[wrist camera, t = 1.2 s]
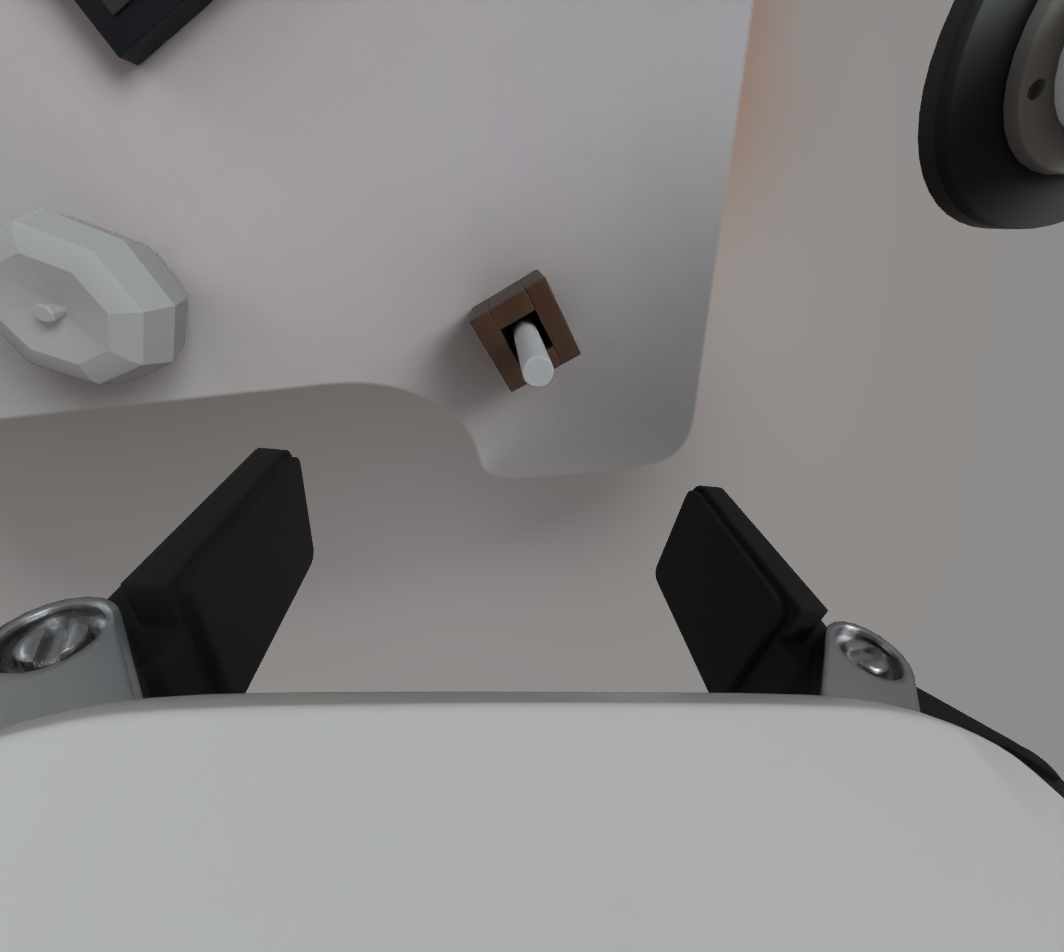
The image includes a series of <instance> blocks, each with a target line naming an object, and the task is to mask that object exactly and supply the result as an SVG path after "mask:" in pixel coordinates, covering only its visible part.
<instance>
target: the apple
mask: <svg viewBox="0 0 1064 952" xmlns="http://www.w3.org/2000/svg"><path fill="white" fill-rule="evenodd" d="M187 298H188V297H187V293H186V291H185V290H184V289H183V287H182V286H181V284H180V283H179V282H178V280H177V279H176V278H175V276H174V275H173V274H172V272H171V271H170V270H169V268H168V267H167V266H166V264H165V263H164V262H163V260H162V259H161V257H160V256H159V255H158V254H157V253H156V252H155V251H154V250H152V249H151V248H150V247H149V246H147V245H145V244H142V243H139V242H137V241H134V240H132V239H129V238H127V237H124V236H121V235H119V234H116V233H114V232H111V231H109V230H106V229H104V228H101V227H98V226H96V225H93V224H91V223H88V222H85V221H82V220H79V219H76V218H73V217H70V216H66V215H63V214H60V213H57V212H54V211H51V210H48V209H45V208H40V209H37V210H35V211H33V212H30V213H28V214H26V215H23V216H21V217H19V218H17V219H14V220H12V221H10V222H8V223H6V224H4V225H2V226H0V334H1V335H2V336H3V337H5V338H6V339H7V340H8V341H9V342H10V343H11V344H12V345H13V346H14V347H15V348H16V349H17V350H18V351H19V352H20V353H21V354H22V355H23V356H24V357H26V358H27V359H28V360H29V361H30V362H31V363H32V364H35V365H39V366H42V367H45V368H48V369H51V370H55V371H58V372H61V373H64V374H67V375H70V376H74V377H77V378H80V379H83V380H86V381H90V382H93V383H96V384H114V383H126V382H129V381H131V380H133V379H135V378H138V377H140V376H142V375H144V374H147V373H149V372H151V371H153V370H156V369H158V368H160V367H162V366H165V365H167V364H169V363H171V362H173V361H174V359H175V358H176V356H177V354H178V353H179V351H180V349H181V348H182V346H183V345H184V340H185V326H186V312H187Z"/></svg>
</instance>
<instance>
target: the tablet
mask: <svg viewBox="0 0 1064 952" xmlns="http://www.w3.org/2000/svg"><path fill="white" fill-rule="evenodd" d="M211 1H212V0H75V2H76V3H77V4H78V5H79V7H80V8H81V9H82V10H83V12H84V13H85V14H86V16H87V17H88V18H89V19H90V21H91V22H92V23H93V25H94V26H95V27H96V28H97V30H98V31H99V32H100V33H101V35H102V36H103V37H104V39H105V40H106V41H107V42H108V44H109V45H110V46H111V47H112V49H113V50H114V51H115V53H116V54H117V55H118V56H119V57H120V58H122V59H124V60H127V61H129V62H131V63H134V64H136V65H139V64H140V63H142V62H143V61H144V60H145V59H146V58H147V57H148V56H150V55H151V54H152V53H153V52H154V51H155V50H156V49H158V48H159V47H160V46H161V45H162V44H163V43H164V42H166V41H167V40H168V39H169V38H170V37H171V36H172V35H174V34H175V33H176V32H177V31H178V30H179V29H180V28H182V27H183V26H184V25H185V24H186V23H187V22H188V21H190V20H191V19H192V18H193V17H194V16H195V15H196V14H198V13H199V12H200V11H201V10H202V9H203V8H204V7H205V6H207V5H208V4H209V3H210V2H211Z"/></svg>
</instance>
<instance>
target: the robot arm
mask: <svg viewBox="0 0 1064 952" xmlns="http://www.w3.org/2000/svg"><path fill="white" fill-rule="evenodd" d="M1003 116H1004V131H1005V134H1006V138H1007V141H1008V145H1009V148H1010V150H1011V151H1012V153H1013V154H1014V156H1015V157H1016V159H1017V160H1018V162H1020V163H1021V164H1023V165H1024V166H1025V167H1027V168H1028V169H1029V170H1031V171H1035V172H1038V173H1041V174H1045V175H1063V174H1064V0H1038V2H1037V4H1036V5H1035V7H1034V9H1033V11H1032V13H1031V15H1030V17H1029V19H1028V21H1027V23H1026V25H1025V28H1024V30H1023V33H1022V35H1021V38H1020V40H1019V43H1018V45H1017V48H1016V50H1015V53H1014V56H1013V60H1012V63H1011V67H1010V71H1009V74H1008V78H1007V82H1006V89H1005V97H1004V105H1003ZM312 560H313V543H312V536H311V530H310V524H309V517H308V511H307V504H306V497H305V491H304V485H303V478H302V471H301V465H300V461H299V459H298V458H296V457H292V456H291V454H290V452H289V451H288V450H278V449H267V448H258V449H256V450H255V451H254V452H253V453H252V454H251V455H250V456H249V457H248V458H247V459H246V460H245V461H244V462H243V463H242V464H241V465H240V466H239V467H238V468H237V469H236V470H235V471H234V472H233V473H232V474H231V475H230V476H229V477H228V478H227V479H226V480H225V481H224V482H223V483H222V484H221V485H220V486H219V487H218V488H217V489H216V490H215V491H214V492H213V493H212V494H210V495H209V497H207V498H206V500H204V502H202V504H200V505H199V506H198V507H197V508H196V509H195V510H194V511H193V512H192V513H191V514H190V515H189V516H188V517H187V518H186V519H185V520H184V521H183V522H182V524H180V525H179V526H178V527H177V528H176V529H175V530H174V531H173V532H172V533H171V534H170V535H169V536H168V537H167V538H166V539H165V540H164V542H162V543H161V544H160V545H159V546H158V547H157V548H156V549H155V550H154V551H153V552H152V553H151V554H150V555H149V556H148V557H147V558H146V559H145V560H144V561H143V562H142V563H141V564H140V565H139V566H138V567H137V568H136V569H135V570H134V571H133V572H132V573H131V574H130V575H129V576H128V577H127V578H126V579H125V580H124V581H123V582H122V583H121V586H120V587H119V588H118V589H117V590H116V591H115V592H114V593H113V594H112V595H111V596H110V597H109V598H108V599H105V598H98V597H79V598H71V599H65V600H61V601H58V602H54V603H50V604H46V605H44V606H41V607H39V608H36V609H34V610H31V611H29V612H26V613H24V614H22V615H20V616H19V617H17V618H15V619H13V620H11V621H9V622H8V623H6V624H4V625H3V626H1V627H0V952H1064V781H1063V780H1061V778H1060V777H1059V776H1058V774H1057V773H1056V772H1055V771H1054V770H1053V769H1052V767H1050V765H1048V764H1047V763H1046V762H1045V761H1044V760H1043V759H1041V758H1040V757H1039V756H1037V755H1036V754H1034V753H1033V752H1031V751H1030V750H1028V749H1026V748H1024V747H1022V746H1020V745H1019V744H1017V743H1015V742H1014V741H1012V740H1010V739H1008V738H1007V737H1005V736H1003V735H1001V734H1000V733H998V732H996V731H994V730H992V729H990V728H989V727H987V726H985V725H983V724H982V723H980V722H978V721H976V720H975V719H973V718H971V717H969V716H967V715H966V714H963V713H962V712H960V711H958V710H957V709H955V708H953V707H951V706H949V705H948V704H946V703H944V702H942V701H941V700H939V699H937V698H935V697H933V696H932V695H930V694H928V693H926V692H924V691H923V690H921V689H919V688H917V687H916V684H915V678H914V674H913V671H912V669H911V666H910V665H909V663H908V662H907V661H906V659H905V658H904V657H903V655H902V654H901V653H900V652H899V651H898V650H897V649H896V648H894V646H892V645H891V644H890V643H889V642H887V641H886V640H884V639H883V638H882V637H880V636H879V635H877V634H875V633H874V632H872V631H870V630H868V629H866V628H864V627H861V626H859V625H856V624H853V623H848V622H834V623H832V624H830V625H828V627H826V626H825V625H824V623H823V622H822V621H821V619H822V618H823V617H824V615H825V614H826V613H827V611H828V610H827V609H826V607H825V606H824V605H823V604H822V603H821V602H820V601H819V599H818V598H817V597H816V596H815V595H814V594H813V593H812V591H811V590H810V589H809V588H808V587H807V586H806V585H805V583H804V582H803V581H802V580H801V579H800V577H799V576H798V575H797V574H796V573H795V572H794V571H793V569H792V568H791V567H790V566H789V565H788V564H787V562H786V561H785V560H784V559H783V558H782V557H781V556H780V554H779V553H778V552H777V551H776V550H775V549H774V547H773V546H772V545H771V544H770V543H769V542H768V541H767V539H766V538H765V537H764V536H763V535H762V534H761V532H760V531H759V530H758V529H757V528H756V527H755V525H754V524H753V523H752V522H751V521H750V520H749V519H748V518H747V516H746V515H745V514H744V513H743V512H742V510H741V509H740V508H739V507H738V506H737V505H736V504H735V502H734V501H733V500H732V499H731V498H730V497H729V496H728V494H727V493H726V492H725V491H724V490H723V489H722V488H719V487H709V486H697V487H696V488H694V490H693V491H689V492H688V493H687V495H686V497H685V499H684V502H683V504H682V507H681V509H680V512H679V514H678V516H677V519H676V521H675V524H674V526H673V528H672V531H671V533H670V536H669V538H668V541H667V543H666V546H665V548H664V550H663V553H662V555H661V557H660V560H659V563H658V565H657V567H656V579H657V582H658V584H659V586H660V589H661V590H662V592H663V595H664V597H665V599H666V601H667V603H668V606H669V608H670V610H671V612H672V614H673V616H674V619H675V621H676V623H677V625H678V627H679V629H680V632H681V634H682V636H683V638H684V640H685V642H686V645H687V646H688V649H689V651H690V653H691V655H692V657H693V660H694V662H695V664H696V666H697V668H698V670H699V672H700V675H701V677H702V679H703V681H704V683H705V685H706V687H707V690H708V692H709V693H679V692H678V693H677V692H674V693H673V692H672V693H671V692H670V693H669V692H297V693H245V692H246V691H247V689H248V687H249V685H250V683H251V681H252V679H253V677H254V675H255V673H256V671H257V669H258V667H259V665H260V663H261V661H262V659H263V657H264V655H265V653H266V651H267V649H268V648H269V646H270V643H271V642H272V640H273V638H274V636H275V634H276V632H277V630H278V628H279V626H280V624H281V622H282V620H283V618H284V616H285V614H286V612H287V610H288V608H289V606H290V604H291V603H292V600H293V599H294V597H295V595H296V593H297V591H298V589H299V587H300V585H301V583H302V581H303V579H304V577H305V575H306V573H307V571H308V569H309V567H310V565H311V563H312Z"/></svg>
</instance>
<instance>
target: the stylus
mask: <svg viewBox="0 0 1064 952" xmlns="http://www.w3.org/2000/svg"><path fill="white" fill-rule="evenodd" d="M512 330H513V335H514V339H515V344H516V348H517V353H518V358H519V362H520V367H521V371H522V376H523V379H524V380H525V382H526V383H527V384H529V385H530V386H533V387H542V386H544V385H546V384H548V383H549V382H550V381H551V379H552V377H553V374H554V368H553V365H552V362H551V360H550V358H549V356H548V353H547V351H546V349H545V346H544V344H543V342H542V340H541V337H540V335H539V333H538V330H537V328H536V326H535V324H534V321H533V319H532V318H531V317H530V316H528V315H526V316H524V317H522V318H520V319H519V320H517V321H515V322H514V323H512Z"/></svg>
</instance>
